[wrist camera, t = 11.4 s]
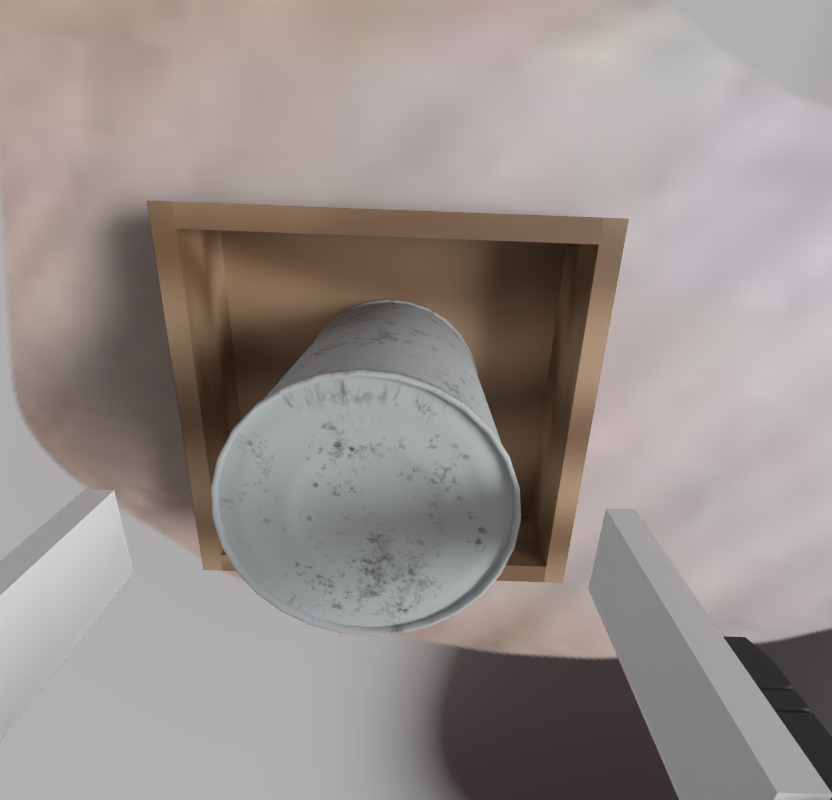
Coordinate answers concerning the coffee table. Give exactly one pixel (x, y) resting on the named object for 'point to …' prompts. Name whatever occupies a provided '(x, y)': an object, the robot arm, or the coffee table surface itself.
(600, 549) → the robot arm
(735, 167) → the coffee table surface
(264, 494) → the speckled white tin can
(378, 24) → the coffee table surface
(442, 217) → the walnut box
